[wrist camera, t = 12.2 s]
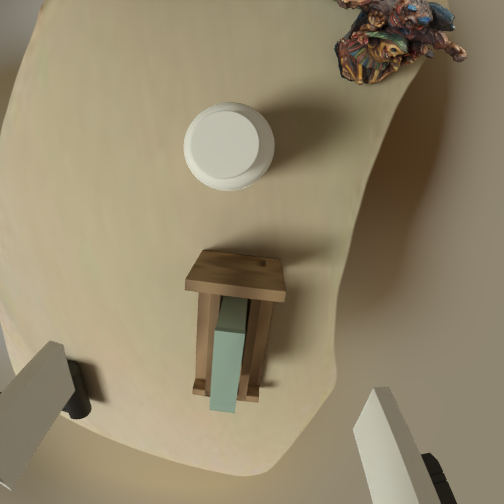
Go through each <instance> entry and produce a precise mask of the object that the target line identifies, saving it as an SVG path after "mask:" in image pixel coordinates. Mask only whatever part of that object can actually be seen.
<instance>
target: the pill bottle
mask: <svg viewBox="0 0 504 504" xmlns="http://www.w3.org/2000/svg"><path fill="white" fill-rule="evenodd" d="M274 150H275V142H274V136H273V132H272V130H271V127H270V125H269V124H268V122H267V121H266V119H265V118H264V117H263V116H262V115H261V114H260V113H259V112H258V111H256V110H255V109H253V108H251V107H249V106H247V105H244V104H241V103H235V102H225V103H219V104H216V105H213V106H210V107H208V108H207V109H205V110H203V111H202V112H201V113H200V114H198V115H197V116H196V117H195V119H194V120H193V121H192V122H191V124H190V126H189V128H188V130H187V132H186V135H185V139H184V155H185V159H186V162H187V165H188V167H189V169H190V170H191V172H192V173H193V175H194V176H195V177H196V178H197V179H198V180H199V181H201V182H202V183H204V184H205V185H207V186H209V187H211V188H214V189H218V190H223V191H233V190H239V189H243V188H246V187H248V186H250V185H252V184H254V183H255V182H256V181H258V180H259V179H260V178H261V177H262V176H263V175H264V174H265V173H266V171H267V170H268V168H269V166H270V164H271V162H272V159H273V156H274Z"/></svg>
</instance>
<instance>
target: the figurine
mask: <svg viewBox="0 0 504 504" xmlns="http://www.w3.org/2000/svg"><path fill="white" fill-rule="evenodd" d="M337 3H338V4H339V6H340V7H342V8H344V9H348V8H350V7H351V8H352V9H355V8H356V7H359V8H360V9H362V10H361V12H360V14H359V16H358V18H357V19H356V20H355V22H354V23H353V24H352V26H351V30H350V31H349V32H348V33H347V34H346V35H345V36H344V37H343V38H342V39H340V42H339V43H337V44H336V45H335V52H336V55H337V57H338V61H339V69H340V74H341V77H343V78H346V79H348V80H349V81H355V83H357V84H359V85H362V84H363V83H369V84H372V83H377V82H379V81H381V80H382V79H384V77H386V76H387V75H388V74H391V73H392V72H396V71H397V70H398V67H399V66H403V65H406V64H409V63H414V60H417V58H419V56H421V55H425V56H426V57H428V58H433V54H434V53H433V52H432V50H430V49H429V48H428V47H427V44H431V45H433V48H434V49H435V50H437V49H444V50H445V51H446V53H448V54H449V55H451V56H452V57H453V60H454V61H457V62H462V61H464V60H465V59H466V57H467V56H468V55H467V54H466V51H465V50H464V49H463V48H462V47H460V46H458V45H457V44H454V43H453V42H449V40H448V38H447V36H446V35H445V33H444V32H443V31H453V30H454V29H455V26H453V24H452V22H453V19H454V18H455V16H454V15H453V14H451V13H452V12H450V11H449V10H448V8H447V9H446V8H444V6H441V5H439V4H438V3H434V2H427V1H424V0H337ZM337 42H338V41H337ZM426 43H427V44H426ZM390 60H392V61H393V62H389V61H390Z"/></svg>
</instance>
